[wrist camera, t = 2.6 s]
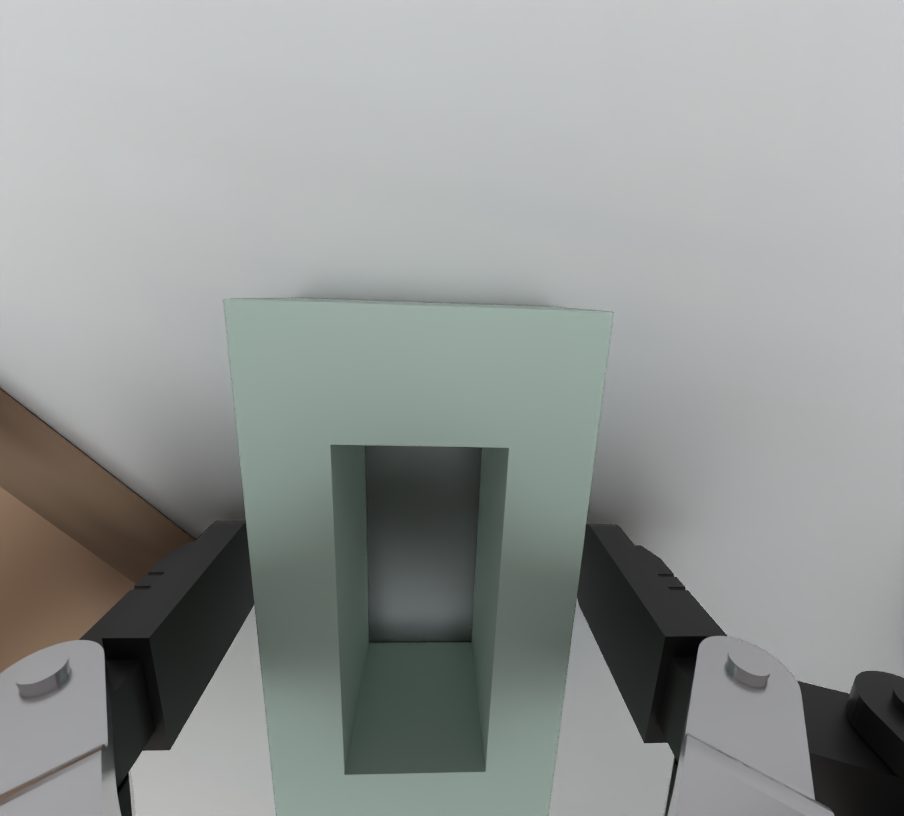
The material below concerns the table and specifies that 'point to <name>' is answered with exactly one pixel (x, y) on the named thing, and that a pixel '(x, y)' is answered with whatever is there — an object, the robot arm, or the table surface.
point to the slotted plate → (345, 544)
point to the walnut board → (65, 537)
